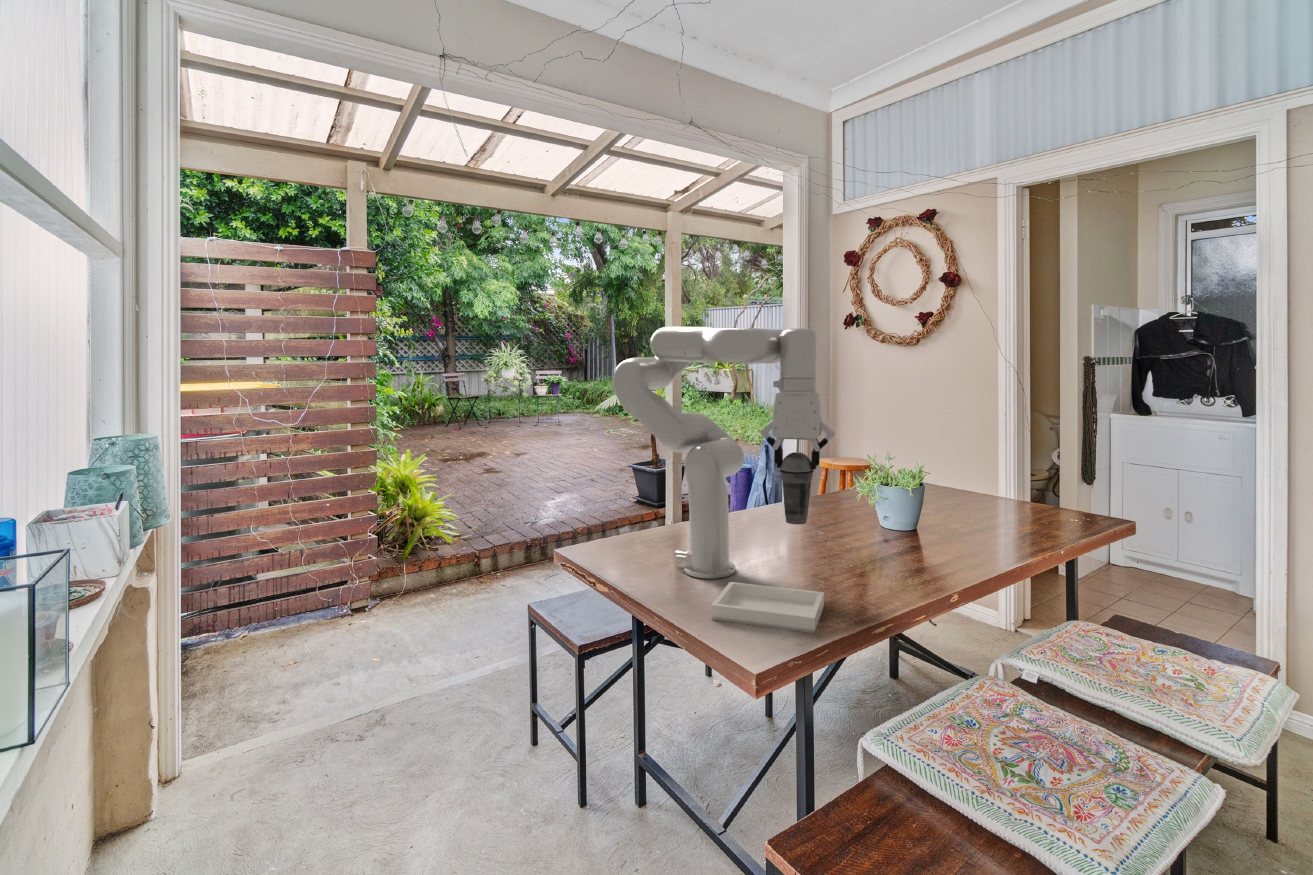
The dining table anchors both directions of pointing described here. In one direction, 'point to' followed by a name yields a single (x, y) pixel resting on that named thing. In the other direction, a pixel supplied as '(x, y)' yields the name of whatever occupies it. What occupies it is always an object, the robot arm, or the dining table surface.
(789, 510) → the beverage cup
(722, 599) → the tray
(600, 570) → the dining table surface
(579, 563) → the dining table surface
